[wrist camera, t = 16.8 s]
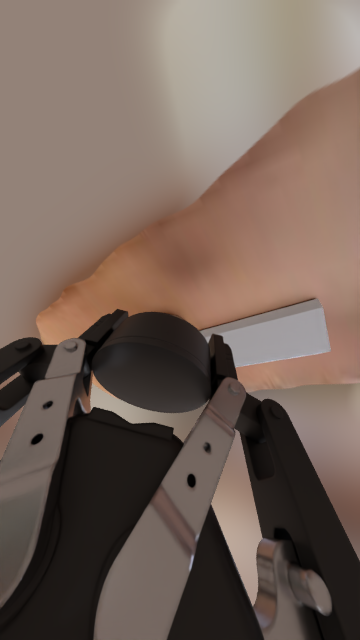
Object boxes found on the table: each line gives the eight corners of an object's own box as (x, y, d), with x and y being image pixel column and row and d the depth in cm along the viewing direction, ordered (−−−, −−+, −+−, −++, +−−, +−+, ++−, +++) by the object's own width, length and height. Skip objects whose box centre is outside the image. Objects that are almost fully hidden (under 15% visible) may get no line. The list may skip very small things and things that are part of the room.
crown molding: (316, 299, 22) (333, 310, 20) (317, 351, 28) (330, 366, 25) (163, 341, 33) (159, 353, 30) (185, 373, 38) (183, 386, 36)
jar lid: (218, 378, 11) (221, 415, 9) (142, 381, 13) (130, 412, 11) (196, 300, 7) (192, 332, 5) (95, 322, 9) (64, 351, 7)
